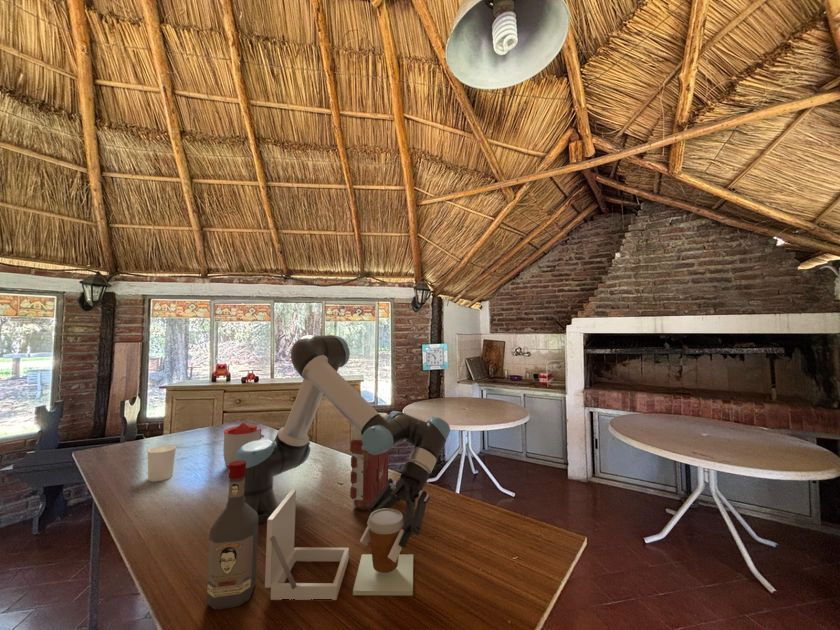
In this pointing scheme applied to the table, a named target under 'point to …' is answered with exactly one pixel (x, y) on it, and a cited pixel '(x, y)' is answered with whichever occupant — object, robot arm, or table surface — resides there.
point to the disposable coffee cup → (384, 537)
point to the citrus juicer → (238, 440)
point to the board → (384, 578)
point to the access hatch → (296, 558)
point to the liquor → (233, 547)
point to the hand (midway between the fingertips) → (376, 551)
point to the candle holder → (161, 462)
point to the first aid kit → (366, 472)
